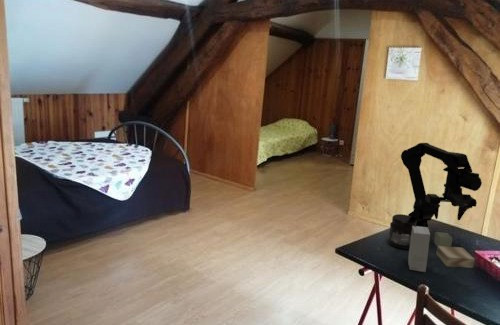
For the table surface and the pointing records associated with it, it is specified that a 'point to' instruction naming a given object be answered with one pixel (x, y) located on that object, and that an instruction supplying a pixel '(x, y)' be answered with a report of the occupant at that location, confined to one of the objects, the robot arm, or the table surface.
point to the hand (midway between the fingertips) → (447, 219)
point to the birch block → (455, 256)
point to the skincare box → (419, 248)
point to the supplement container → (401, 231)
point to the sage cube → (443, 239)
